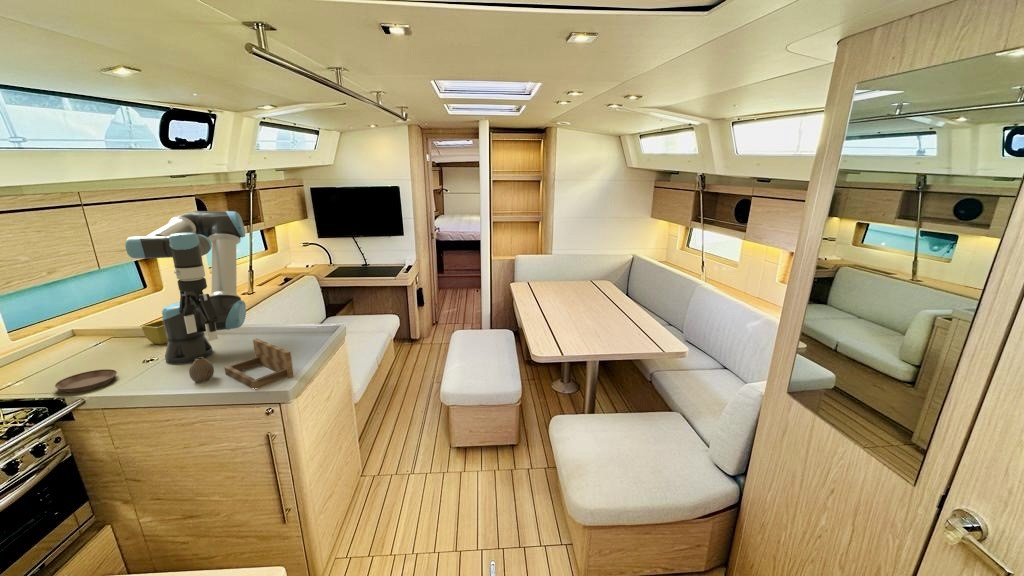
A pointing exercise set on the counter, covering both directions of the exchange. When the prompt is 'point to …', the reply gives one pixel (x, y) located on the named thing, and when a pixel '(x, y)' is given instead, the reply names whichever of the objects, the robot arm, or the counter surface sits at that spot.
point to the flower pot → (155, 332)
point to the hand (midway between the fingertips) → (202, 336)
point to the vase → (201, 370)
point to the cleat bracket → (267, 357)
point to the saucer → (86, 380)
